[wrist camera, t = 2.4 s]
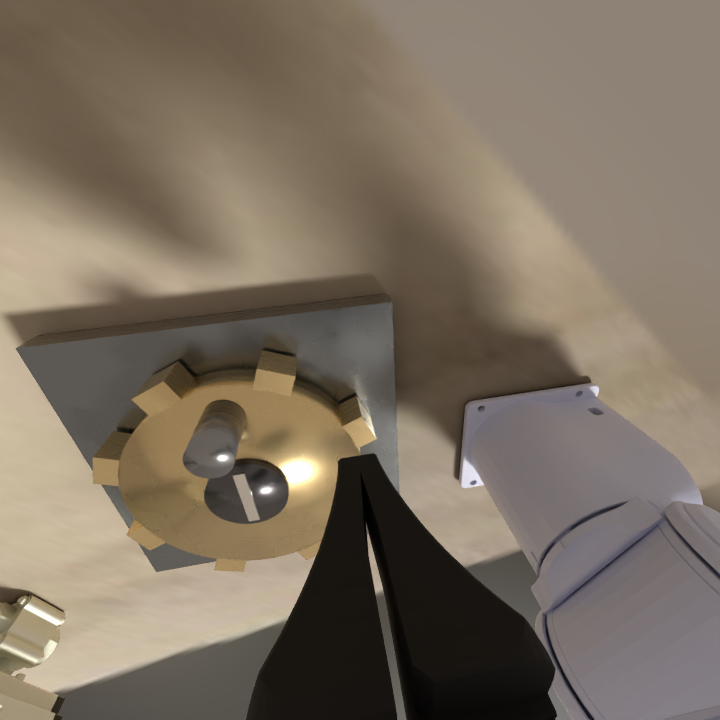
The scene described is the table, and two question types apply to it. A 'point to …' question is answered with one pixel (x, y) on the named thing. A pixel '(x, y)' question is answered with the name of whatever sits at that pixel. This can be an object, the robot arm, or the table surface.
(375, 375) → the cap plate
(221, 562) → the blocky toothed spur gear
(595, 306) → the table surface
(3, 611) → the pneumatic valve
